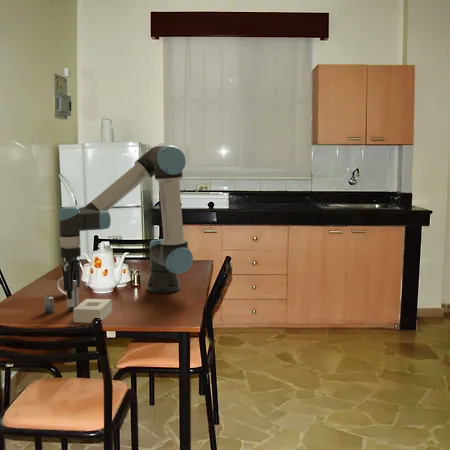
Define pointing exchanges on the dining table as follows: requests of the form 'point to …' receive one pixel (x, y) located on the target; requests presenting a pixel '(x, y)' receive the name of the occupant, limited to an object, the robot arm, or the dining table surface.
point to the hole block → (92, 310)
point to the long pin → (74, 295)
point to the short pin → (48, 305)
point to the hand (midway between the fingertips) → (72, 304)
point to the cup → (59, 288)
